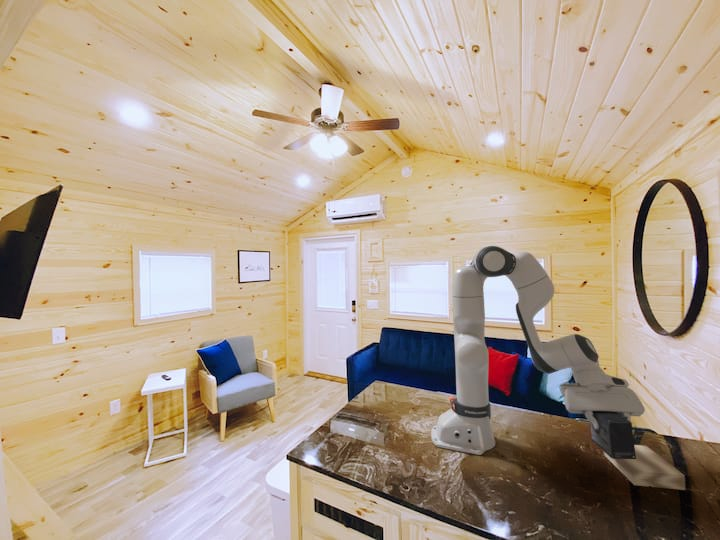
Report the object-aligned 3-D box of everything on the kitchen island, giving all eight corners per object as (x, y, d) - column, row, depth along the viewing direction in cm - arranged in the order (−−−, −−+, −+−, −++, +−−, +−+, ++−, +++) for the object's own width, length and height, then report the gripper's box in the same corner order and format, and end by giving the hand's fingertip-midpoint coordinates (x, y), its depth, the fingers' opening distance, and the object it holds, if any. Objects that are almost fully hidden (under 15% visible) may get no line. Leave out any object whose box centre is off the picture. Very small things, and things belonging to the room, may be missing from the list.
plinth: (634, 485, 83) (633, 470, 83) (604, 454, 96) (603, 442, 96) (685, 490, 80) (684, 475, 80) (646, 458, 94) (646, 445, 94)
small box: (638, 460, 82) (633, 422, 83) (612, 459, 83) (607, 422, 84) (613, 439, 93) (609, 406, 93) (590, 439, 94) (586, 406, 94)
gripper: (560, 378, 96) (577, 423, 87) (632, 380, 92) (659, 427, 82) (554, 387, 101) (570, 430, 91) (624, 389, 96) (648, 435, 87)
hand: (613, 429), depth 87 cm, fingers closed on small box, 6 cm apart
